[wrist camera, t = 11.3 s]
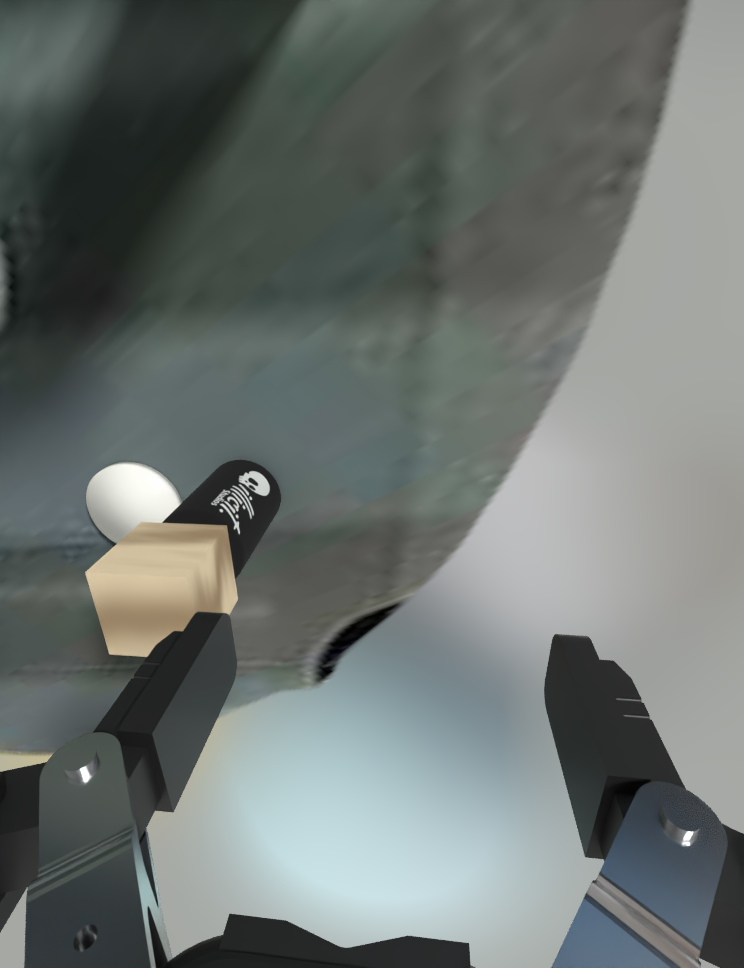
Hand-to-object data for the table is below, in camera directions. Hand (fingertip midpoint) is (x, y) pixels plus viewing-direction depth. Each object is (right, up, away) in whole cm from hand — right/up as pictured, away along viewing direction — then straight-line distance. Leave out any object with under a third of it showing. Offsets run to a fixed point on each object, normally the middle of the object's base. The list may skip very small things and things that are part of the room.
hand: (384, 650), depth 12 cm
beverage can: (-12, +4, +33) cm, 35 cm away
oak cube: (-13, -1, +22) cm, 26 cm away
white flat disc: (-23, +2, +35) cm, 42 cm away
